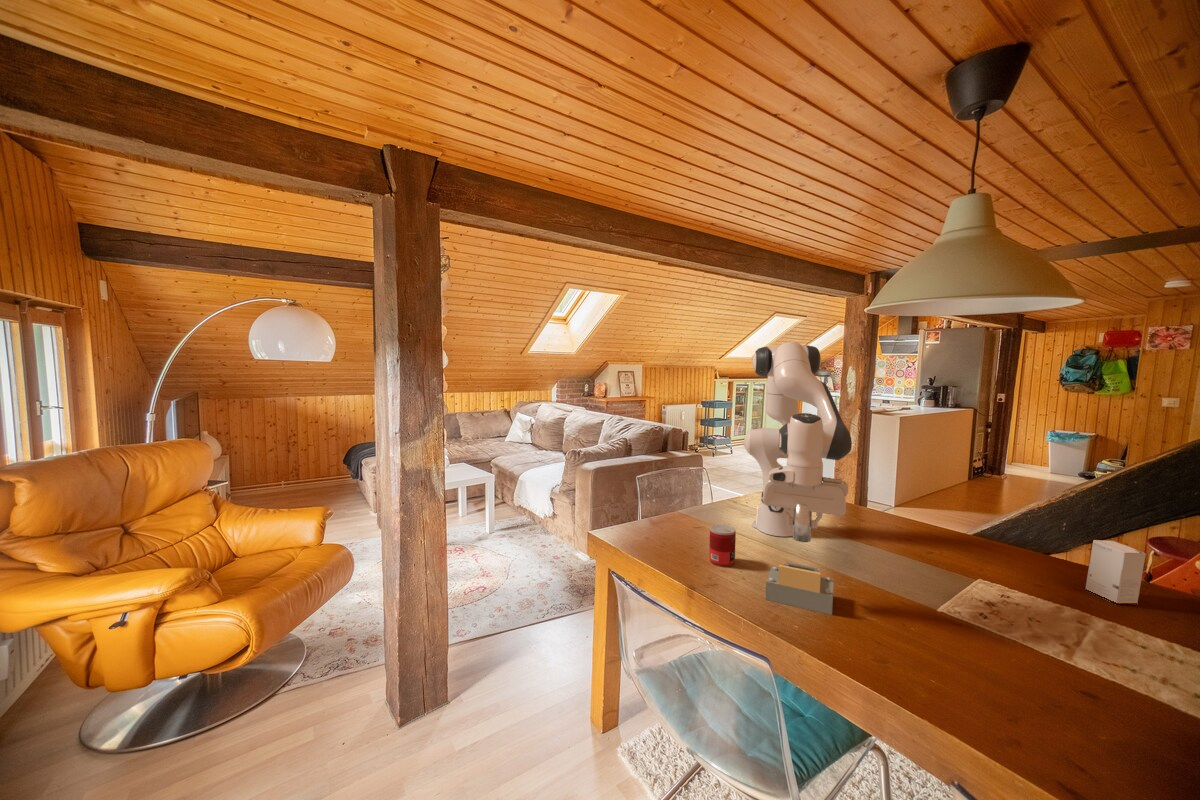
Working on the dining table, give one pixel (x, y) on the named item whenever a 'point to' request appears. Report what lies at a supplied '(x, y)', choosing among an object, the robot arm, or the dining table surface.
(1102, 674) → the dining table surface
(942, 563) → the dining table surface
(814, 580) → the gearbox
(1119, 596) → the skincare box
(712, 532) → the canned food
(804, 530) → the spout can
